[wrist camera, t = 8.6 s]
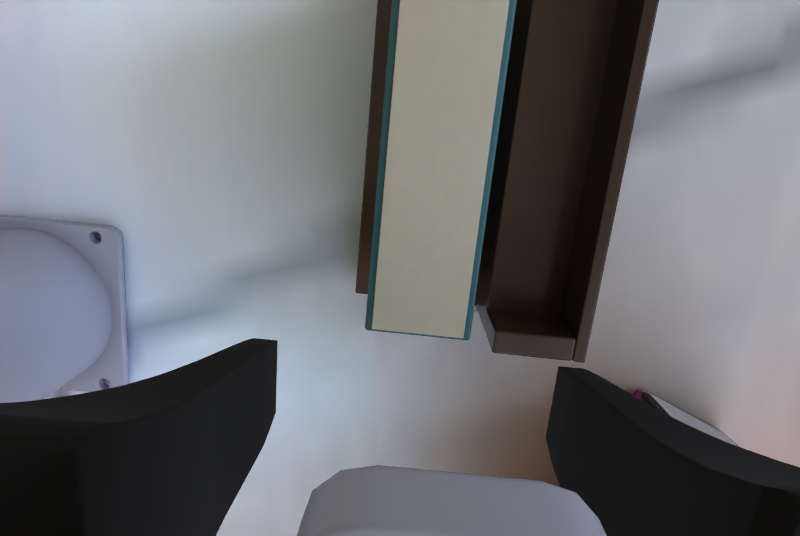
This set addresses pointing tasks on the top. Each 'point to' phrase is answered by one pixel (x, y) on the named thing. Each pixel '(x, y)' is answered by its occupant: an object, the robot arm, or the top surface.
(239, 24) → the top surface
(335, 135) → the top surface
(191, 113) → the top surface
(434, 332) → the book
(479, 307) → the step shelf
